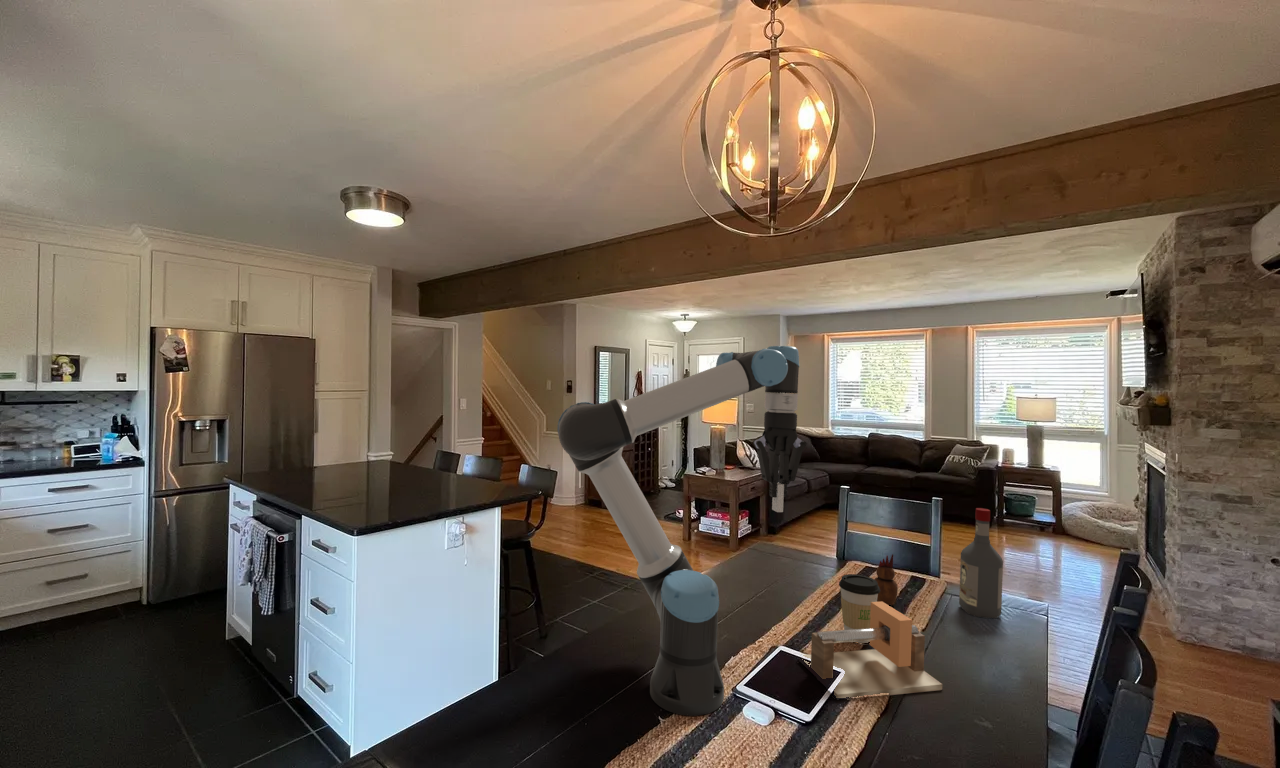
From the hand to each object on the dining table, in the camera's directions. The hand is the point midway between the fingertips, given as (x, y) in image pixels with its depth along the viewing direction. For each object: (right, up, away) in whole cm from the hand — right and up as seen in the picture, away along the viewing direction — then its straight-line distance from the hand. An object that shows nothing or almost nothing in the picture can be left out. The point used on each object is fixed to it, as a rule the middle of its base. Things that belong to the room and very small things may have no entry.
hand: (777, 510), depth 127 cm
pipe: (+19, -28, -7) cm, 34 cm away
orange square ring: (+24, -31, -6) cm, 40 cm away
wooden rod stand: (+18, -35, -7) cm, 40 cm away
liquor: (+67, -37, +30) cm, 82 cm away
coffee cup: (+23, -35, +10) cm, 44 cm away
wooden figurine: (+41, -36, +34) cm, 64 cm away
